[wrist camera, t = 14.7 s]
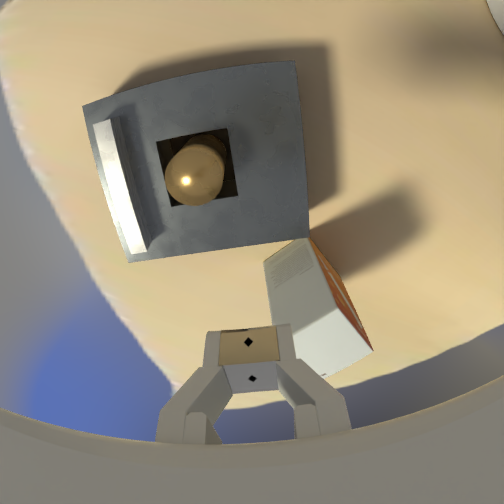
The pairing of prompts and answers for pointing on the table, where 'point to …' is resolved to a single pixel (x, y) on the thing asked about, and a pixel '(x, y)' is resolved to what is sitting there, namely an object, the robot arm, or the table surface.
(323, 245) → the table surface
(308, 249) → the small box
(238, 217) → the jig
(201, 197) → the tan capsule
